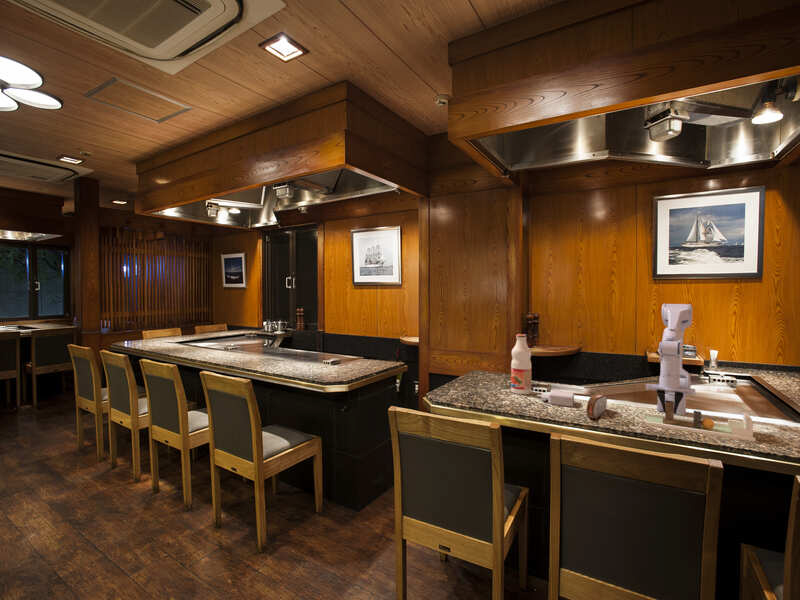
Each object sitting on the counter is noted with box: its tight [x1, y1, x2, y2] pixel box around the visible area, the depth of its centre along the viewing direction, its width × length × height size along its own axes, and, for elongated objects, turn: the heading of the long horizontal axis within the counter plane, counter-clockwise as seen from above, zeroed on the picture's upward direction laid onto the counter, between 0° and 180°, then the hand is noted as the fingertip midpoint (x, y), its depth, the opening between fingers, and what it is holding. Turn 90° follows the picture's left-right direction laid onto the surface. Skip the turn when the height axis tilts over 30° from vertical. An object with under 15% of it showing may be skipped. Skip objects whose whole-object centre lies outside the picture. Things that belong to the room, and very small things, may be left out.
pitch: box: [644, 412, 756, 443], centre depth 138 cm, size 30×13×8 cm, turn 56°
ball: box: [701, 417, 715, 429], centre depth 136 cm, size 4×4×4 cm
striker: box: [663, 401, 702, 428], centre depth 140 cm, size 11×4×7 cm, turn 56°
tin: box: [586, 392, 608, 420], centre depth 155 cm, size 15×3×8 cm, turn 134°
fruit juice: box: [510, 333, 532, 395], centre depth 192 cm, size 9×9×28 cm
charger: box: [536, 389, 575, 408], centre depth 175 cm, size 5×9×15 cm
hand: (669, 412), depth 142 cm, fingers closed on striker, 2 cm apart
